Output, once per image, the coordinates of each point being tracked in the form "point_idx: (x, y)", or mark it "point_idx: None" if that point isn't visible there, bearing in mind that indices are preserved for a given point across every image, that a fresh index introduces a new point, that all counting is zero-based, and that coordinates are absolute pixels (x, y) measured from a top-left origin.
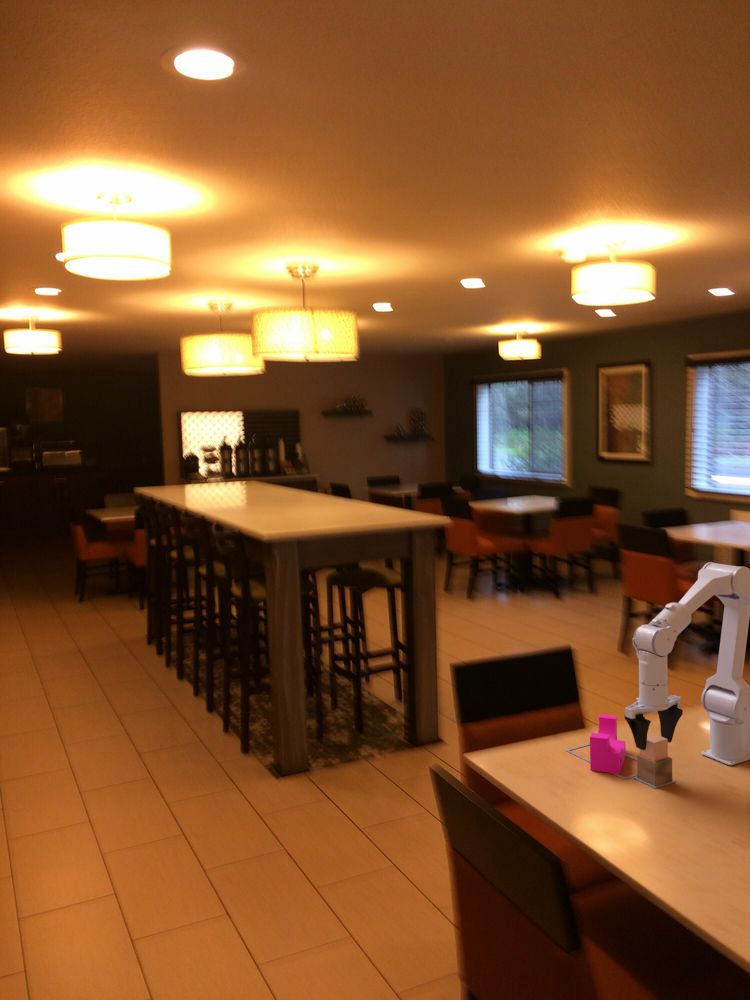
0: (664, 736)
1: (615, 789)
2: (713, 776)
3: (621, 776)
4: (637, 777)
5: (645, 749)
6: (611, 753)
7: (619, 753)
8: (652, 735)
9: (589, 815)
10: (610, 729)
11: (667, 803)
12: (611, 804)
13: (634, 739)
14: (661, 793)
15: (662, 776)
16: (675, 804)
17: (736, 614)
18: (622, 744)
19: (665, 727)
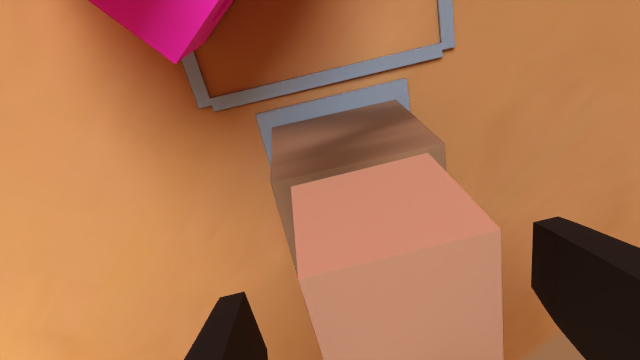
0: (557, 267)
1: (102, 196)
2: (603, 203)
3: (198, 79)
4: (272, 129)
5: (265, 351)
6: (115, 17)
7: (180, 55)
8: (448, 280)
9: None
10: None
11: (264, 342)
12: (30, 307)
13: (192, 348)
14: (292, 276)
15: None
16: (287, 352)
17: None
18: None
19: (637, 342)
